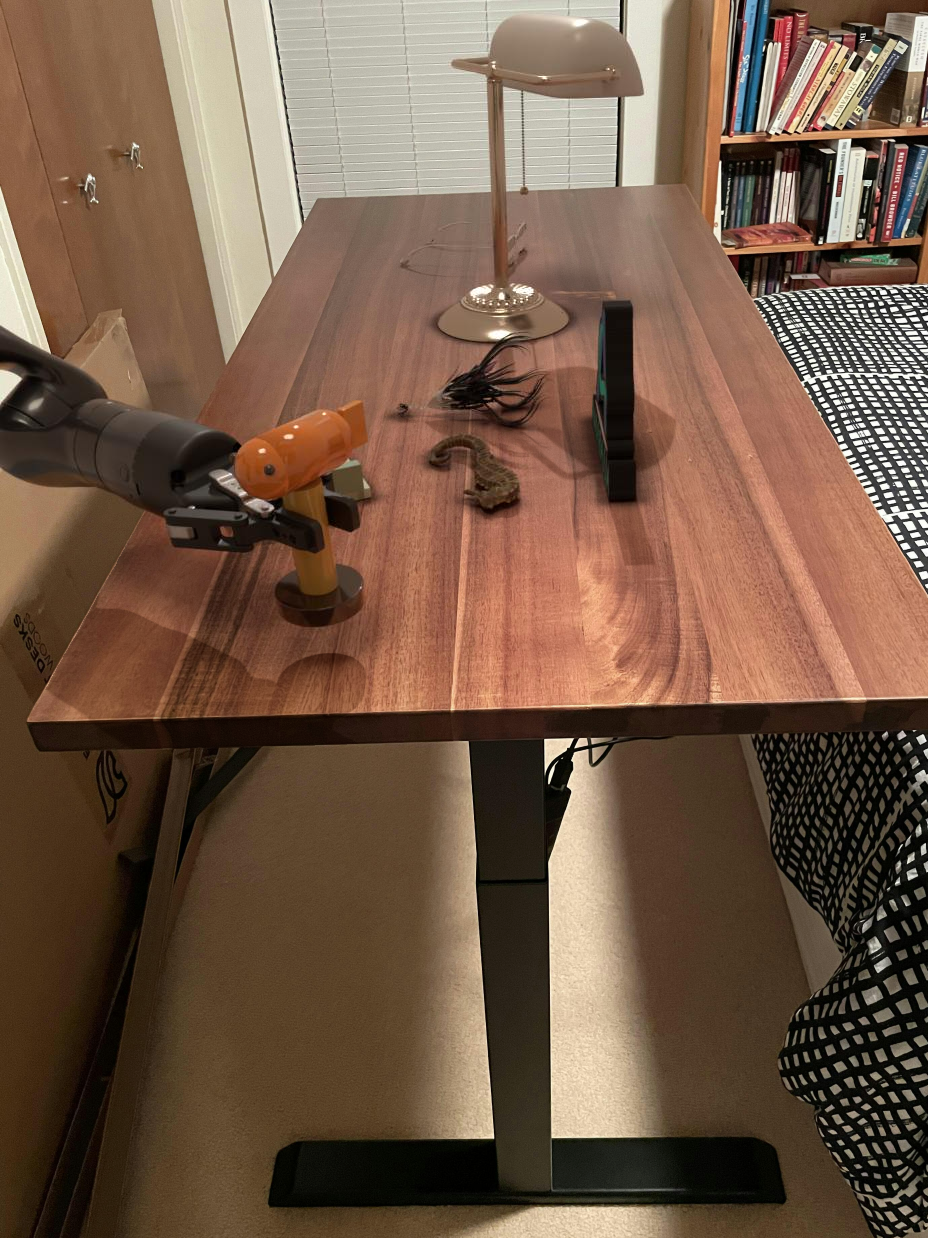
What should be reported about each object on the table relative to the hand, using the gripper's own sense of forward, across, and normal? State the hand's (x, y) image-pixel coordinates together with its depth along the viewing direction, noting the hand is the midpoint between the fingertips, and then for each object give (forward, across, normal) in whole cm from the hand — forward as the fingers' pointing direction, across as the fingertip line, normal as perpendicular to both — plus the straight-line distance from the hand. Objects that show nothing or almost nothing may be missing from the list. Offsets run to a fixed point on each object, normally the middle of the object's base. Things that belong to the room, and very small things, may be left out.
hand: (336, 527), depth 65 cm
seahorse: (-10, -28, -10) cm, 31 cm away
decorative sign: (-2, -39, -10) cm, 40 cm away
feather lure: (-19, -40, -10) cm, 45 cm away
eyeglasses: (-62, -92, -10) cm, 111 cm away
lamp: (-35, -71, -10) cm, 80 cm away
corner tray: (-24, -17, -10) cm, 32 cm away
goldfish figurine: (-3, 0, -7) cm, 8 cm away
